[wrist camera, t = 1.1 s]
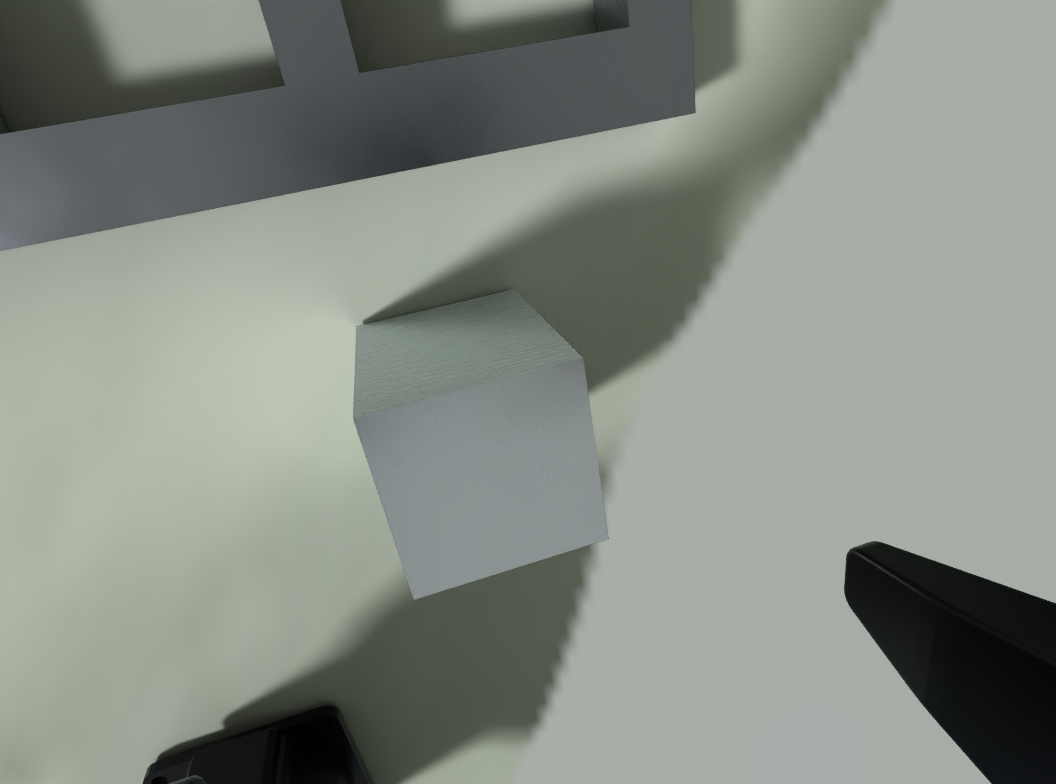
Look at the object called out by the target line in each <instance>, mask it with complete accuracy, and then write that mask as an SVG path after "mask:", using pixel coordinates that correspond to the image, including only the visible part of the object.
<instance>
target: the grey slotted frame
mask: <svg viewBox="0 0 1056 784" xmlns="http://www.w3.org/2000/svg"><path fill="white" fill-rule="evenodd" d="M259 3H260V6H261V9H262V12H263V16H264V19H265V22H266V25H267V29H268V32H269V35H270V38H271V42H272V45H273V48H274V51H275V55H276V58H277V61H278V64H279V68H280V71H281V74H282V77H283V81H284V84H285V86H280V87H275V88H269V89H263V90H257V91H251V92H245V93H239V94H234V95H228V96H222V97H216V98H210V99H204V100H198V101H193V102H187V103H181V104H175V105H169V106H163V107H157V108H151V109H146V110H140V111H134V112H128V113H122V114H116V115H110V116H105V117H99V118H93V119H87V120H81V121H75V122H69V123H64V124H58V125H52V126H46V127H40V128H34V129H28V130H22V131H17V132H11V133H9V132H8V130H7V128H6V126H5V124H4V122H3V120H2V118H1V116H0V251H3V250H8V249H13V248H18V247H23V246H28V245H33V244H38V243H43V242H48V241H53V240H58V239H63V238H68V237H74V236H79V235H84V234H89V233H94V232H99V231H104V230H109V229H114V228H119V227H124V226H129V225H134V224H139V223H144V222H149V221H154V220H159V219H164V218H169V217H174V216H179V215H184V214H189V213H194V212H199V211H204V210H209V209H215V208H220V207H225V206H230V205H235V204H240V203H245V202H250V201H255V200H260V199H265V198H270V197H275V196H280V195H285V194H290V193H295V192H300V191H305V190H310V189H315V188H320V187H325V186H330V185H335V184H340V183H345V182H351V181H356V180H361V179H366V178H371V177H376V176H381V175H386V174H391V173H396V172H401V171H406V170H411V169H416V168H421V167H426V166H431V165H436V164H441V163H446V162H451V161H456V160H461V159H466V158H471V157H476V156H481V155H486V154H492V153H497V152H502V151H507V150H512V149H517V148H522V147H527V146H532V145H537V144H542V143H547V142H552V141H557V140H562V139H567V138H572V137H577V136H582V135H587V134H592V133H597V132H602V131H607V130H612V129H617V128H622V127H627V126H633V125H638V124H643V123H648V122H653V121H658V120H663V119H668V118H673V117H678V116H683V115H688V114H693V113H696V111H695V88H694V65H693V42H692V19H691V0H594V7H595V17H596V26H597V33H591V34H585V35H579V36H574V37H568V38H562V39H556V40H550V41H544V42H538V43H533V44H527V45H521V46H515V47H509V48H503V49H497V50H492V51H486V52H480V53H474V54H468V55H462V56H456V57H450V58H445V59H439V60H433V61H427V62H421V63H415V64H409V65H404V66H398V67H392V68H386V69H380V70H374V71H368V72H363V73H359V70H358V66H357V62H356V59H355V55H354V51H353V47H352V43H351V39H350V35H349V31H348V27H347V24H346V20H345V16H344V12H343V8H342V4H341V0H259Z"/></svg>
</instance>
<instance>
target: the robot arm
mask: <svg viewBox="0 0 1056 784" xmlns="http://www.w3.org/2000/svg"><path fill="white" fill-rule="evenodd" d="M844 593H845V597H846V600H847V602H848V604H849V606H850V608H851V609H852V611H853V612H854V613H855V615H856V616H857V617H858V619H859V620H860V622H861V623H862V624H863V626H864V627H865V628H866V630H867V631H868V632H869V634H870V635H871V636H872V638H873V639H874V640H875V642H876V643H877V645H878V646H879V647H880V649H881V650H882V651H883V653H884V654H885V655H886V657H887V658H888V660H889V661H890V662H891V664H892V665H893V666H894V668H895V669H896V670H897V672H898V673H899V674H900V676H901V677H902V679H903V680H904V681H905V683H906V684H907V685H908V687H909V688H910V689H911V691H912V692H913V693H914V694H915V696H916V697H917V698H918V700H919V701H920V702H921V703H922V705H923V706H924V707H925V708H926V709H927V711H928V712H929V713H930V714H931V715H932V717H933V718H934V719H935V720H936V721H937V722H938V723H939V725H940V726H941V727H942V728H943V729H944V730H945V731H946V732H947V734H948V735H949V736H950V737H951V738H952V739H953V741H955V743H956V744H957V745H958V746H959V747H960V748H961V750H962V751H963V752H964V753H965V754H966V755H967V756H968V757H969V759H970V760H971V761H972V762H973V763H974V764H975V765H976V767H977V768H978V769H979V770H980V771H981V772H982V773H983V774H984V776H985V777H986V778H987V779H988V780H989V781H990V783H991V784H1056V603H1053V602H1050V601H1047V600H1045V599H1042V598H1039V597H1036V596H1033V595H1030V594H1027V593H1024V592H1022V591H1019V590H1016V589H1013V588H1010V587H1008V586H1005V585H1002V584H999V583H996V582H993V581H990V580H988V579H985V578H982V577H979V576H976V575H973V574H970V573H967V572H965V571H962V570H959V569H956V568H953V567H950V566H948V565H945V564H942V563H939V562H936V561H933V560H930V559H927V558H924V557H922V556H919V555H916V554H913V553H910V552H908V551H904V550H902V549H899V548H896V547H893V546H890V545H888V544H885V543H881V542H876V541H873V542H869V543H866V544H863V545H860V546H857V547H854V548H852V549H850V550H849V552H848V553H847V557H846V571H845V584H844ZM326 720H327V721H326ZM143 784H373V783H372V780H371V778H370V776H369V774H368V772H367V770H366V767H365V765H364V763H363V761H362V759H361V756H360V754H359V752H358V750H357V748H356V745H355V743H354V741H353V739H352V737H351V734H350V732H349V730H348V728H347V726H346V723H345V721H344V719H343V717H342V715H341V712H340V711H339V710H338V708H336V707H334V706H322V707H319V708H316V709H313V710H310V711H307V712H304V713H301V714H298V715H295V716H292V717H289V718H286V719H283V720H280V721H277V722H274V723H271V724H268V725H265V726H262V727H259V728H256V729H253V730H250V731H247V732H244V733H241V734H238V735H235V736H232V737H229V738H226V739H223V740H220V741H217V742H214V743H211V744H208V745H205V746H202V747H199V748H196V749H193V750H190V751H187V752H184V753H181V754H178V755H175V756H172V757H169V758H166V759H163V760H160V761H157V762H155V763H153V764H151V765H150V766H149V767H148V769H147V772H146V775H145V778H144V781H143Z"/></svg>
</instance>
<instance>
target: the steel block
mask: <svg viewBox="0 0 1056 784" xmlns="http://www.w3.org/2000/svg"><path fill="white" fill-rule="evenodd" d="M353 420H354V423H355V426H356V429H357V432H358V435H359V438H360V441H361V444H362V447H363V450H364V453H365V456H366V459H367V462H368V465H369V468H370V471H371V474H372V477H373V480H374V482H375V485H376V488H377V491H378V494H379V497H380V500H381V503H382V506H383V509H384V512H385V515H386V518H387V521H388V524H389V527H390V530H391V533H392V536H393V539H394V542H395V545H396V548H397V551H398V554H399V557H400V560H401V563H402V566H403V569H404V572H405V575H406V578H407V581H408V584H409V587H410V590H411V593H412V596H413V599H414V600H415V599H418V598H422V597H425V596H428V595H431V594H434V593H438V592H441V591H444V590H447V589H450V588H453V587H457V586H460V585H463V584H466V583H469V582H473V581H476V580H479V579H482V578H485V577H489V576H492V575H495V574H498V573H501V572H505V571H508V570H511V569H514V568H517V567H520V566H524V565H527V564H530V563H533V562H536V561H540V560H543V559H546V558H549V557H552V556H556V555H559V554H562V553H565V552H568V551H571V550H575V549H578V548H581V547H584V546H587V545H591V544H594V543H597V542H600V541H603V540H607V539H609V538H608V531H607V524H606V517H605V509H604V502H603V495H602V488H601V481H600V474H599V467H598V459H597V452H596V445H595V438H594V431H593V424H592V417H591V409H590V402H589V395H588V388H587V381H586V374H585V367H584V359H583V357H582V356H581V355H580V354H579V353H578V352H577V351H576V350H575V349H574V348H573V347H572V346H571V345H570V344H569V343H568V342H567V341H566V340H565V339H564V338H563V337H562V336H561V335H560V334H559V333H558V332H557V331H556V330H555V329H554V328H553V327H552V326H551V325H550V324H549V323H548V322H547V321H546V320H545V319H544V318H543V317H542V316H541V315H540V314H539V313H538V312H537V311H536V310H535V309H534V308H533V307H531V306H530V305H529V304H528V303H527V302H526V301H525V300H524V299H523V298H522V297H521V296H520V295H519V294H518V293H517V292H516V291H515V290H514V289H512V290H508V291H504V292H499V293H495V294H491V295H487V296H483V297H478V298H474V299H470V300H466V301H461V302H457V303H453V304H449V305H445V306H440V307H436V308H432V309H428V310H423V311H419V312H415V313H411V314H407V315H402V316H398V317H394V318H390V319H385V320H381V321H377V322H373V323H369V324H364V325H360V326H356V349H355V376H354V403H353Z"/></svg>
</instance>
